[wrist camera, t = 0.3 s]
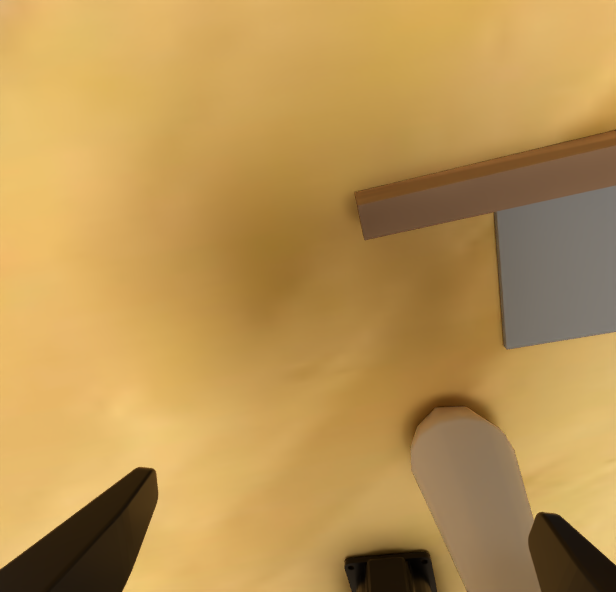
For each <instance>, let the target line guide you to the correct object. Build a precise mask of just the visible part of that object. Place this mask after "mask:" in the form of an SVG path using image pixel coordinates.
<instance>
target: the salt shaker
mask: <svg viewBox="0 0 616 592" xmlns="http://www.w3.org/2000/svg"><path fill="white" fill-rule="evenodd" d="M411 470H412V472H413V475H414V477H415V479H416V481H417V483H418V486H419V488H420V490H421V492H422V494H423V496H424V499H425V501H426V503H427V505H428V507H429V509H430V512H431V514H432V516H433V518H434V520H435V523H436V525H437V527H438V529H439V531H440V533H441V536H442V538H443V540H444V542H445V544H446V547H447V549H448V551H449V553H450V555H451V557H452V560H453V562H454V564H455V566H456V568H457V570H458V573H459V575H460V577H461V579H462V581H463V584H464V586H465V588H466V590H467V592H541V589H540V586H539V582H538V579H537V575H536V572H535V568H534V565H533V561H532V558H531V554H530V551H529V546H528V536H529V533H530V530H531V528H532V525H533V523H534V519H533V516H532V512H531V508H530V505H529V501H528V498H527V494H526V491H525V487H524V483H523V480H522V476H521V473H520V469H519V465H518V462H517V458H516V455H515V451H514V449H513V447H512V446H511V444H510V442H509V441H508V439H507V437H506V436H505V434H504V433H503V432H502V431H501V429H500V428H499V427H497V426H495V425H494V424H492V423H490V422H489V421H487V420H486V419H484V418H482V417H481V416H479V415H478V414H476V413H475V412H473V411H472V410H471V409H469V408H468V407H466V406H457V407H436V408H434V410H433V411H432V412H431V413H430V414H429V415H428V416H427V417H426V418H425V419H424V420H423V421H422V422H421V423H420V424H419V425H418V426H417V429H416V432H415V435H414V438H413V441H412V444H411Z"/></svg>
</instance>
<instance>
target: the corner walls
mask: <svg viewBox="0 0 616 592" xmlns="http://www.w3.org/2000/svg"><path fill="white" fill-rule="evenodd" d="M611 186H616V130H613V131H609V132H605V133H601V134H597V135H592V136H588V137H584V138H580V139H576V140H571V141H567V142H563V143H559V144H555V145H551V146H546V147H542V148H538V149H534V150H530V151H525V152H521V153H517V154H513V155H509V156H505V157H500V158H496V159H492V160H488V161H484V162H479V163H475V164H471V165H467V166H463V167H459V168H454V169H450V170H446V171H442V172H438V173H433V174H429V175H425V176H421V177H417V178H413V179H408V180H404V181H400V182H396V183H392V184H387V185H383V186H379V187H375V188H371V189H367V190H362V191H358V192H355V197H356V202H357V207H358V212H359V217H360V222H361V227H362V231H363V236H364V240H368V239H373V238H377V237H382V236H386V235H391V234H396V233H400V232H405V231H409V230H414V229H419V228H423V227H428V226H432V225H437V224H441V223H446V222H451V221H455V220H460V219H464V218H469V217H474V216H478V215H483V214H487V213H492V212H496V211H501V210H506V209H510V208H515V207H519V206H524V205H529V204H533V203H538V202H542V201H547V200H551V199H556V198H561V197H565V196H570V195H574V194H579V193H584V192H588V191H593V190H597V189H602V188H606V187H611Z"/></svg>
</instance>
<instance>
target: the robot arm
mask: <svg viewBox="0 0 616 592" xmlns="http://www.w3.org/2000/svg"><path fill="white" fill-rule="evenodd" d="M157 500H158V486H157V476H156V471H155V470H154V469H153V468H145V467H138V468H136V469H134V470H133V471H131V472H130V473H129V474H127V475H126V476H125V477H123V478H122V479H121V480H119V481H118V482H117V483H115V484H114V485H113V486H111V487H110V488H109V489H107V490H106V491H105V492H103V493H102V494H101V495H99V496H98V497H97V498H95V499H94V500H93V501H91V502H90V503H89V504H87V505H86V506H85V507H83V508H82V509H81V510H79V511H78V512H77V513H75V514H74V515H73V516H71V517H70V518H69V519H67V520H66V521H65V522H63V523H62V524H61V525H59V526H58V527H57V528H55V529H54V530H52V531H51V532H50V533H48V534H47V535H46V536H44V537H43V538H42V539H40V540H39V541H38V542H36V543H35V544H34V545H32V546H31V547H30V548H28V549H27V550H26V551H24V552H23V553H22V554H20V555H19V556H18V557H16V558H15V559H14V560H12V561H11V562H10V563H8V564H7V565H6V566H4V567H3V568H2V569H0V592H122V591H123V589H124V587H125V585H126V583H127V580H128V578H129V576H130V574H131V571H132V569H133V566H134V564H135V561H136V558H137V556H138V553H139V550H140V548H141V545H142V542H143V539H144V537H145V534H146V531H147V529H148V526H149V523H150V520H151V518H152V515H153V512H154V510H155V507H156V504H157ZM528 546H529V551H530V554H531V558H532V561H533V565H534V568H535V572H536V575H537V579H538V582H539V586H540V589H541V592H616V565H615V564H614V563H613V562H611V561H610V560H609V559H608V558H607V557H606V556H605V555H604V554H602V553H601V552H600V551H599V550H598V549H597V548H596V547H595V546H594V545H592V544H591V543H590V542H589V541H588V540H587V539H586V538H585V537H583V536H582V535H581V534H580V533H579V532H578V531H577V530H576V529H574V528H573V527H572V526H571V525H570V524H569V523H568V522H567V521H566V520H564V519H563V518H562V517H561V516H559V515H558V514H554V513H545V512H539V513H538V514H537V515H536V517H535V520H534V523H533V525H532V528H531V530H530V533H529V536H528ZM345 571H346V574H347V577H348V581H349V584H350V587H351V590H352V592H437V588H436V583H435V578H434V573H433V568H432V562H431V558H430V555H429V554H428V553H427V552H415V553H403V554H392V555H380V556H369V557H357V558H348V559H346V560H345Z"/></svg>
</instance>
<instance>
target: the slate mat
mask: <svg viewBox="0 0 616 592" xmlns="http://www.w3.org/2000/svg"><path fill="white" fill-rule="evenodd" d="M494 217H495V231H496V244H497V258H498V271H499V285H500V299H501V312H502V326H503V339H504V347H505V348H506V349H513V348H519V347H525V346H532V345H538V344H544V343H550V342H556V341H562V340H568V339H575V338H581V337H587V336H593V335H599V334H605V333H611V332H616V186H611V187H606V188H602V189H597V190H593V191H588V192H584V193H579V194H574V195H570V196H565V197H561V198H556V199H551V200H547V201H542V202H538V203H533V204H529V205H524V206H519V207H515V208H510V209H506V210H501V211H496V212H494Z"/></svg>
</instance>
